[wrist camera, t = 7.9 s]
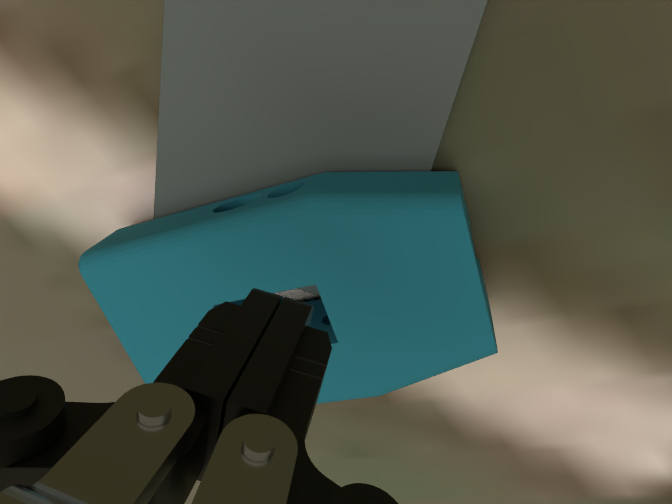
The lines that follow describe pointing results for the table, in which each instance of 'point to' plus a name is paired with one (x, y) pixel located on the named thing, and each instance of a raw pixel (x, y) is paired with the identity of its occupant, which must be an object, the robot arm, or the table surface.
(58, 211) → the table surface
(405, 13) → the mat
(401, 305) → the block
